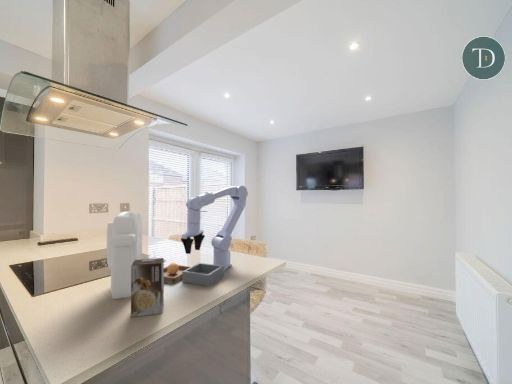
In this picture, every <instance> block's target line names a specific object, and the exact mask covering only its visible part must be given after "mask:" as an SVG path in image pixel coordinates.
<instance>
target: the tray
mask: <svg viewBox="0 0 512 384" xmlns="http://www.w3.org/2000/svg"><path fill="white" fill-rule="evenodd" d="M177 265H178V266H179V270H178V272H177V273H176V274H169V273H168V271H167V267H168V266H169V265H168V266H164V283H165V284H171V285H174V284H176V283H179V282H180V281H182V271H184V270H186V269H188V268H190V267H191V266H187V265H182V264H181V265H179V264H177Z"/></svg>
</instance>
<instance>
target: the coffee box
mask: <svg viewBox="0 0 512 384" xmlns="http://www.w3.org/2000/svg"><path fill="white" fill-rule="evenodd" d="M164 261H165V259H164V257H160V258H158V257H157V258H142V259H140V260H135V261H134V262H133V263H132V265H131V297H130V317H131V318H135V317H143V316H150V315H151V316H152V315H158V314H160V315H161V314H163V310H164V306H165V301H164V299H165V298H164V297H165V296H164V295H165V294H164V293H165V292H164V287H165V286H164V285H165V284H164V283H165V282H164V268H165V265H164V264H165V263H164Z"/></svg>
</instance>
